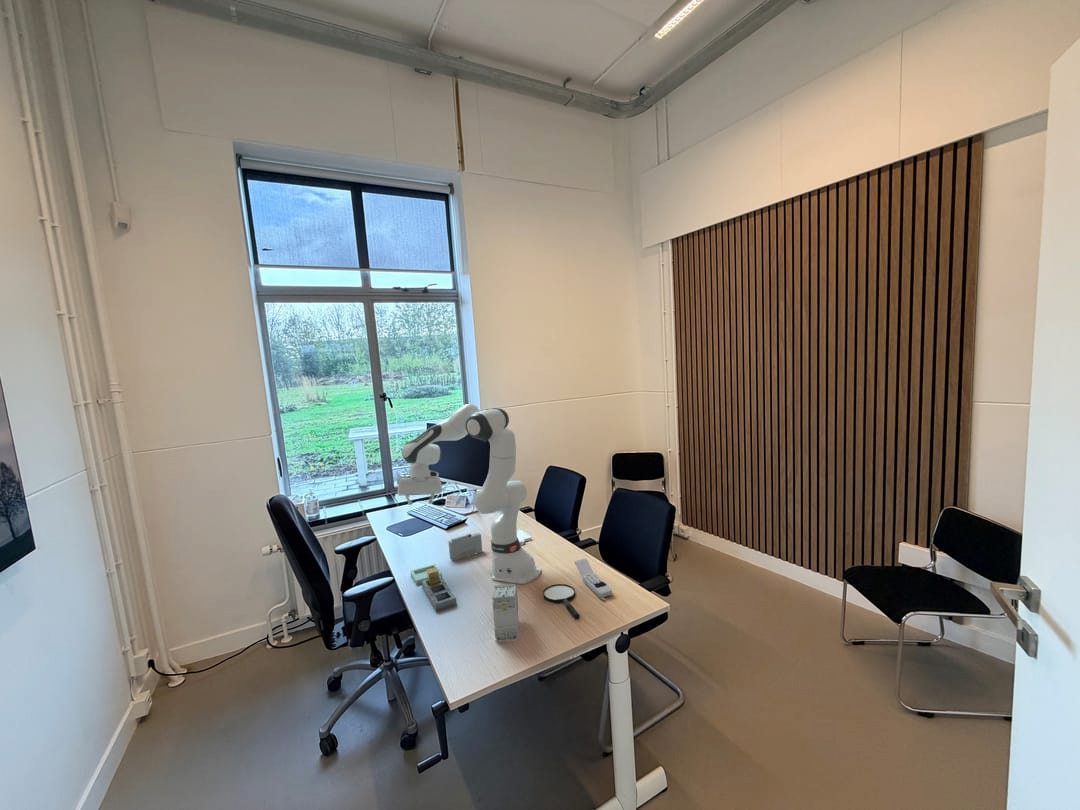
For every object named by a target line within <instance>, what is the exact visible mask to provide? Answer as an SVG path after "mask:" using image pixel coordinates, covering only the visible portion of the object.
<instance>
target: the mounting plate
mask: <svg viewBox="0 0 1080 810" xmlns="http://www.w3.org/2000/svg"><path fill="white" fill-rule="evenodd" d="M517 538H518V540H519V542H522V541H523V542H522V543H523V544H524V545H525V543H526V542H525V541H527V542H530V541H532V540H533V539H532V538H533V537H532V536H531V535H529V534H528V533H526V532H525V531H523V530H522V529H517ZM529 540H530V541H529ZM523 544H521V546H523Z"/></svg>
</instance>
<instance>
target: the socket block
mask: <svg viewBox="0 0 1080 810" xmlns="http://www.w3.org/2000/svg"><path fill="white" fill-rule="evenodd" d="M439 582H440V583H438V584H434V585H431V586H429V585H428V582H427V579H426V580H422V584H421V588H422V590H423V592H424V594H425V595H426V597H427V599H428V601H429V602H430V604H431V606H432V608H433V609H434V611H435V613H438V612H441V611H443V610H447V609H449V608H453V607H455V606H458V604H457V603H458V602H457V597H456V595H454V593H453V592H452V590H451V588H450V587H449V586H448V584H447V583H446V581H445V580H444V579H443V576H442V577H441V575H439Z"/></svg>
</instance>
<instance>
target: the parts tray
mask: <svg viewBox="0 0 1080 810" xmlns="http://www.w3.org/2000/svg"><path fill="white" fill-rule="evenodd" d="M434 567H436V568H437V569H438V571H439V575H441V577H442V578H443V573H442V572H441V570H440V569H439V567H438V566H437V565H436V564H435V563H433V564H430V565H427V566H422V567H419V568H418V567H417V568H416V569H411V570H410V575H412V576H411V577H413V578H412V579H414V580H413V581H414V584H415V585H416V586H418V585H417V584H419V585H422V584H421V583H422V580H426V579H427V572H426V570H427V569H431V568H434Z"/></svg>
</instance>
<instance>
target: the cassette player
mask: <svg viewBox="0 0 1080 810" xmlns="http://www.w3.org/2000/svg"><path fill="white" fill-rule="evenodd" d="M447 543H448V550H449V551H448V552H449V559H451V560H452V561H451V560H450V561H451V562H453V560H454V561H456V560H457V561H458V560H461V559H463V557H464V558H467V557H469V556H468V555H470V556H472V554H474V555H476V554H475V553H477V554H480V553H482V552H483V545H482V534H481V533H480V532H477V533H472V534H471V533H468V534H465V535H461V536H457V537H453V538H451V540H448V542H447ZM481 551H482V552H481ZM479 552H480V553H479ZM466 556H467V557H466Z"/></svg>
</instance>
